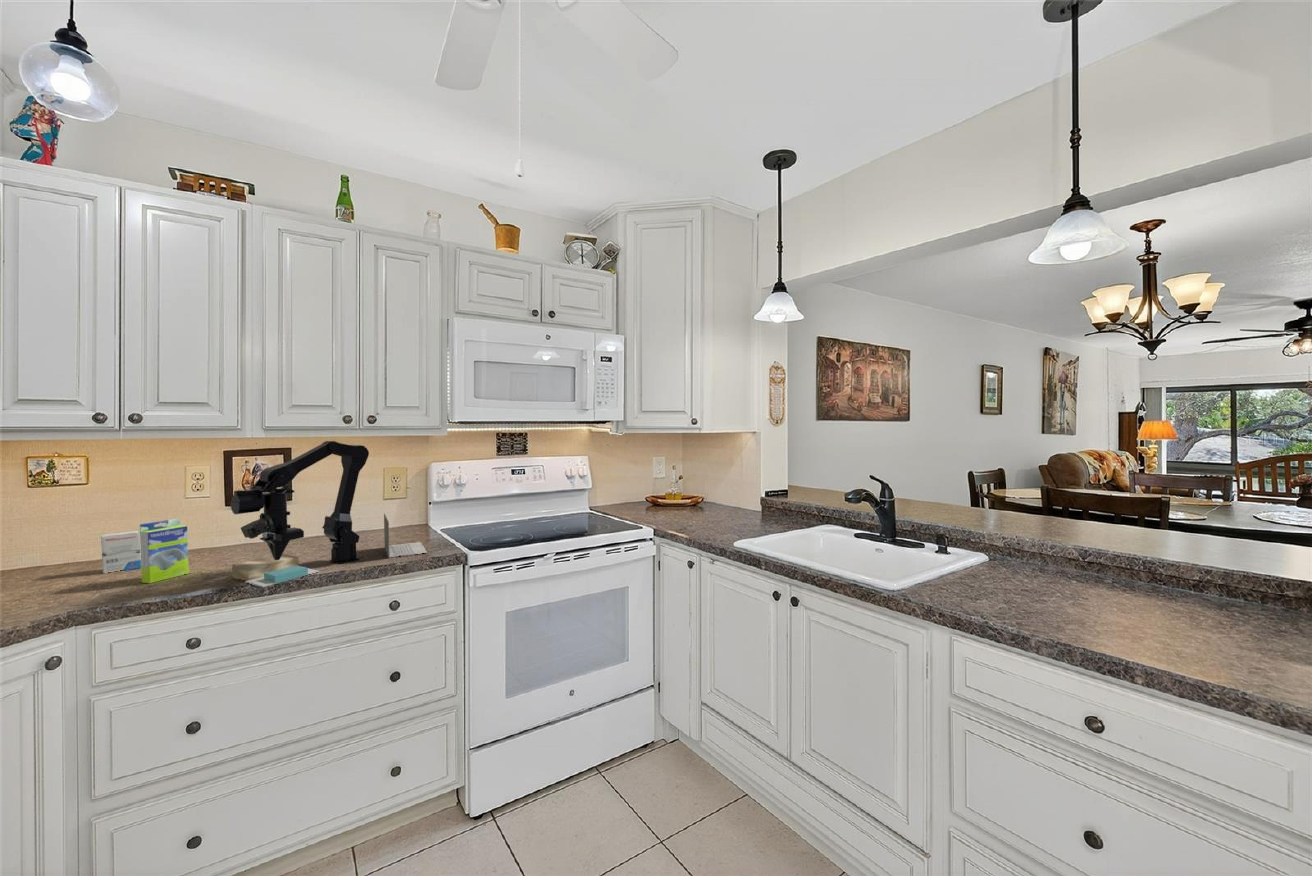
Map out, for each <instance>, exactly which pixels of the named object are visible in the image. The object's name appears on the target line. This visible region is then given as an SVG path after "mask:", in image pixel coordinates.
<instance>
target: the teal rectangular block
mask: <svg viewBox="0 0 1312 876" xmlns="http://www.w3.org/2000/svg"><path fill="white" fill-rule="evenodd" d="M304 575H308V567H306V566H301V565H299V566H297V565H296V566H292V567H288V568H283V569H279V570H275V571H271V572H267V573H264V580H267V581H271V582H275V583H276V582H280V581H284V580H288V579H292V578H296V577H300V576H304ZM308 576H309V575H308ZM304 577H305V576H304Z"/></svg>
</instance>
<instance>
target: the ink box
mask: <svg viewBox="0 0 1312 876" xmlns="http://www.w3.org/2000/svg"><path fill="white" fill-rule="evenodd" d="M139 532H140V531H139V530H134V531H126V532H125V531H124V532H116V533H107V534H101V536H100V539H101V540H100V542H101V543H100V545H101V560H102V561H101V562H102V574H103V573H105V574H109V573H108V572H112V573H115V572H114V571H118V572H121V571H120V570H125V571H130V570H138V569H142V565H141V543H140V533H139ZM137 568H138V569H137Z"/></svg>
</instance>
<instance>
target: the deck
mask: <svg viewBox="0 0 1312 876" xmlns="http://www.w3.org/2000/svg"><path fill="white" fill-rule="evenodd" d="M299 561H300V559H299V556H296V555H290V554H284V553H283V554H282V556H281V558H280V559H279V560H274V558H273V555H271V556H267V557H261V558H258V559H253V560H249V561H243V562H238V563H234V564H231V567H232V568H231V571H232V572H231V573H232V574H231V575H232V579H236V580H239V579H241V580H240V581H243V580H246V581H249V580H253V579H257V578H261V577H264V573H267V572H271V571H275V570H279V569H283V568H288V567H292V566H296V565H297V566H300V563H299Z"/></svg>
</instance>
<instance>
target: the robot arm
mask: <svg viewBox="0 0 1312 876" xmlns="http://www.w3.org/2000/svg"><path fill="white" fill-rule="evenodd" d="M331 455H335V456H338V457H341V458H340V459H341V460H340V461H341V466H342V474H341V479H340V482H339V488H338V492H337V495H336V501H335V504H334V509H333V512H332V513H331V515H330V516H328V515H326V516H325V517H324V523H323V526H322V527H321V528H322V529H323V534H324V535H325V537H327V538H328V540H329V541H330V543H332V544H331V546H332V547H331V549H330V553H331V554H330V555H331V559H329V562H331V563H337V564H345V563H349V562H352V561H356V560H360V557H359V556H357V543H359V539H360V537H361V536H360V535H359V534H357V533H356V532H355V531H354V530H353V520H352V517H351V510H352V507H353V506H352V505H353V502H354V497H355V492H356V487H357V484H358V479H359V474H360V472H361V471H362V469H363V468H364V466H365V465H366V463H367V461H368V458H369V455H370V451H369V450H368V448H367V447H366V446H365V445H361V444H355V445H354V444H347V443H341V442H337V441H335V440H325V441H323V442H322V443H321V444H319V445H317V446H315V447H313V448H311V449H310V450H308V451H306V452H305V453H302V454H300V455H298V456H296V457H294V458H293V459H291V460H289V461H286V462H284V463H278V464H276V465H271V466H270V467H267V468H264V469H262V470H261V472H260V475H259V478H258V480H257V481H256V482H255V484H254V485H253V486H252V487H251V489H246V490H240V489H239V490H234V491H233V495H232V497H231V501H230V509H231V513H233V514H234V515H242V514H249V513H250V514H251V513H257V512H260V511H261V510H262V509H263V512H262V513H260V514H259V519H256V520H254V521H253V520H252V521H251V522H249V523H247V524H245V525H243V526H241V527H240V530H241V532H242V534H243V536H244V538H245V539H246V538H248V539H250V540H251V539H255V538H257V537H259V536H260V535H262V537H260V538H259V540H260V541H263V542H264V543H266V544H267V546H268V548H269V551H270V553H271V556H273V558H274V560H279V559H280V558H281V556H282V554H284V551H285V550H286V548H287V546H288V544H289V542H290V541H292V540H297V539H302V538H305V534H304V533H305V530H303V529H302V528H299V527H292V526H291V524H288V516H290V515H291V511H290V510H288V509H287V508H288V501H287V499H288V498H287V494H293V493H295V490H293V489H292V488H291V487H290V486H289V485H287V484H289V483H290V482H292V481H293V480H294V479H295V477H297V475H298V474H300V472H302V471H304V470H306V469H307V468H309V467H312V466H313V465H314V464H315V465H316V463H318V462H321V461H322V460H324V459H327V457H329V456H331Z"/></svg>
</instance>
